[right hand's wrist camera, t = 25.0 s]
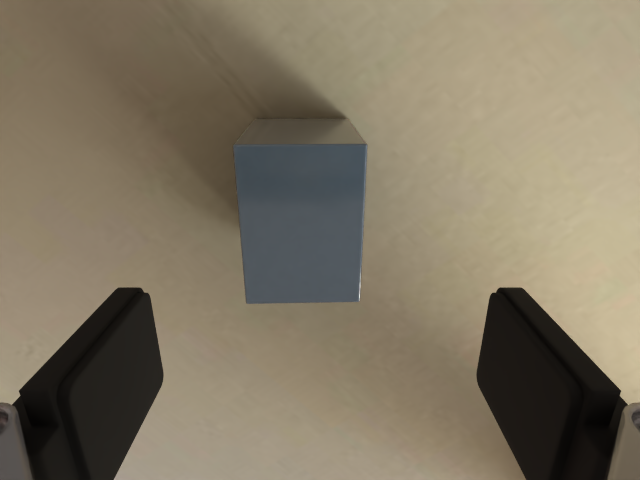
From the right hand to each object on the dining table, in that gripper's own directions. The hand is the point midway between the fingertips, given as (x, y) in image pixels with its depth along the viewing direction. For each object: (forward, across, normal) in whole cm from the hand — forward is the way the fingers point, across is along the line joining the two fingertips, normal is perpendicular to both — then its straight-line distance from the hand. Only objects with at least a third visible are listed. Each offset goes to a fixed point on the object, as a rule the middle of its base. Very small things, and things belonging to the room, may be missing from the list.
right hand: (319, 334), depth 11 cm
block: (+13, -1, +1) cm, 13 cm away
